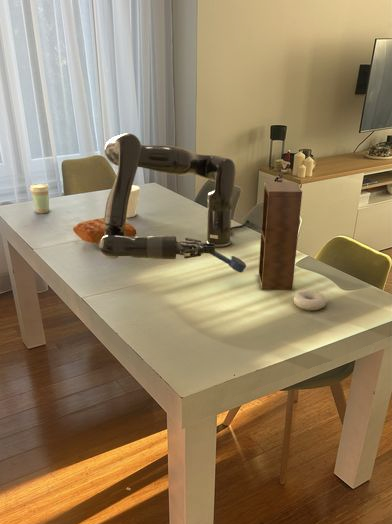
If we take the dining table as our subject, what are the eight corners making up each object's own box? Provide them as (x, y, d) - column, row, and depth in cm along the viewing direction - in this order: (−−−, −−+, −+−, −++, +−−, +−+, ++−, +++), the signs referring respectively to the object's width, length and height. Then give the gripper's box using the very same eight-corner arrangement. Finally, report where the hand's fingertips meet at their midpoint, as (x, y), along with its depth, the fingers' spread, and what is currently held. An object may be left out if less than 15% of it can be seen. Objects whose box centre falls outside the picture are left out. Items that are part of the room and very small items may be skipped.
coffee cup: (49, 214, 250) (46, 187, 244) (31, 214, 250) (27, 187, 244) (54, 209, 257) (50, 183, 251) (36, 208, 258) (32, 183, 251)
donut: (287, 307, 166) (318, 315, 162) (288, 297, 165) (319, 304, 160) (300, 296, 174) (330, 302, 169) (301, 286, 172) (331, 292, 167)
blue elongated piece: (198, 249, 174) (202, 242, 173) (198, 242, 179) (201, 236, 178) (243, 274, 178) (247, 268, 177) (241, 268, 183) (245, 262, 182)
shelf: (261, 289, 178) (268, 191, 162) (258, 275, 188) (264, 181, 172) (292, 289, 178) (302, 191, 162) (287, 275, 188) (296, 182, 172)
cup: (127, 210, 256) (125, 183, 250) (146, 214, 250) (145, 187, 244) (109, 216, 248) (107, 188, 242) (129, 220, 242) (127, 192, 236)
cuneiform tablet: (89, 253, 206) (87, 232, 202) (72, 240, 219) (69, 221, 215) (140, 242, 217) (139, 223, 213) (121, 231, 229) (120, 212, 225)
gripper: (160, 243, 169) (215, 244, 169) (162, 229, 181) (214, 230, 181) (160, 266, 173) (214, 266, 173) (163, 251, 185) (213, 251, 185)
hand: (214, 248), depth 177 cm, fingers closed on blue elongated piece, 2 cm apart
